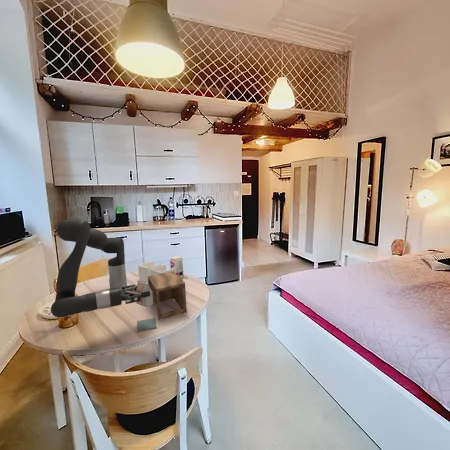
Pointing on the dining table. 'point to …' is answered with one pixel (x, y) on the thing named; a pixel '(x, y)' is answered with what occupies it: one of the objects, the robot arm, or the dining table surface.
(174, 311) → the hutch
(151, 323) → the mat
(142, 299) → the tea bag
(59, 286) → the robot arm
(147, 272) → the storage container
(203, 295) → the dining table surface
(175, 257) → the supplement can
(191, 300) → the dining table surface
